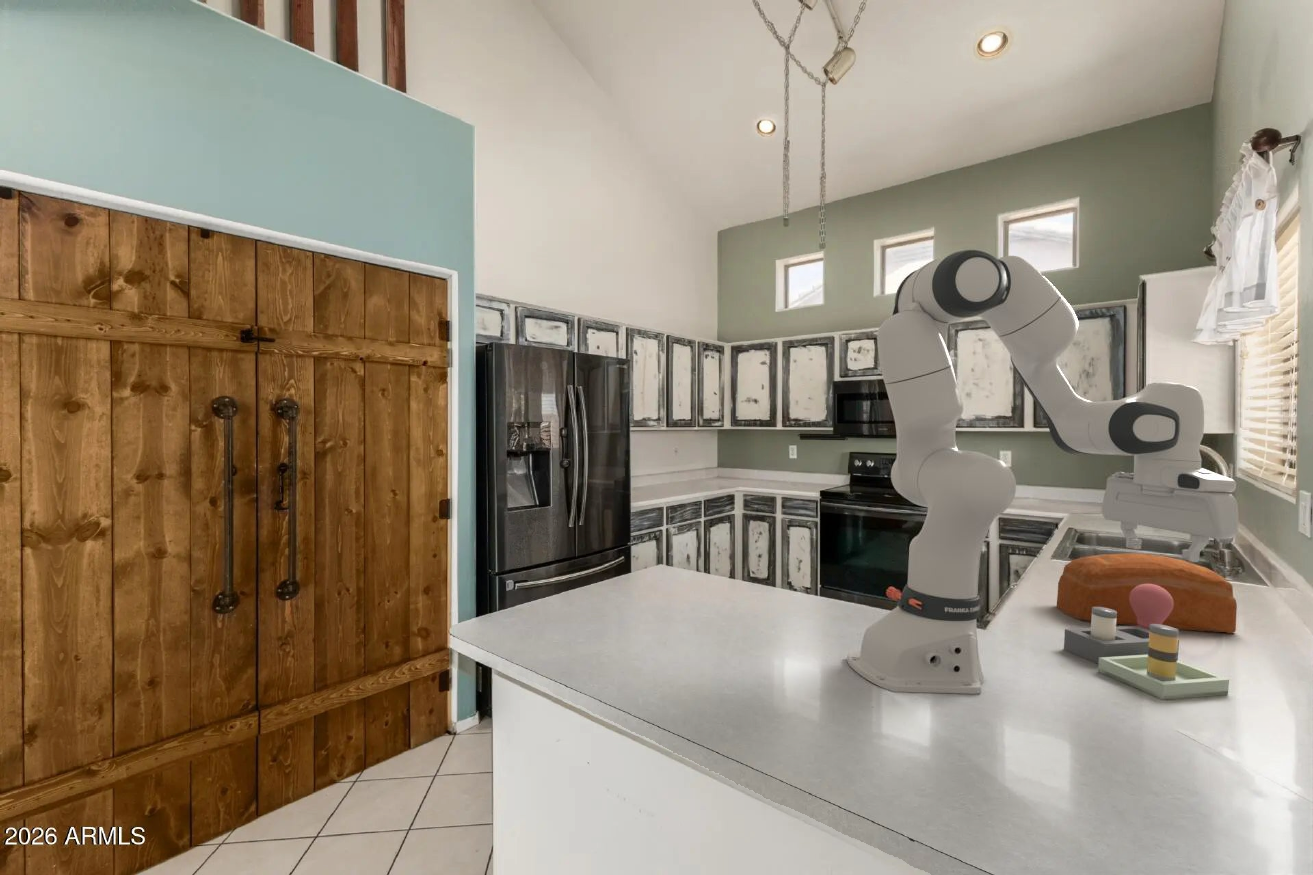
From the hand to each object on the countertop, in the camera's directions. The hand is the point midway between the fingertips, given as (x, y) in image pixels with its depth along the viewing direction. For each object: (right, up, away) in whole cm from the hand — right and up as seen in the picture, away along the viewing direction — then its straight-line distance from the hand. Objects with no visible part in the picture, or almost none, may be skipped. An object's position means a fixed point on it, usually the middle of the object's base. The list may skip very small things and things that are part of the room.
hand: (1160, 554), depth 103 cm
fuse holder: (+2, -22, +11) cm, 25 cm away
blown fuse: (-1, -21, -1) cm, 21 cm away
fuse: (-3, -22, +10) cm, 24 cm away
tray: (-1, -22, -1) cm, 22 cm away
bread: (+25, -23, +35) cm, 49 cm away
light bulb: (+15, -22, +20) cm, 33 cm away
